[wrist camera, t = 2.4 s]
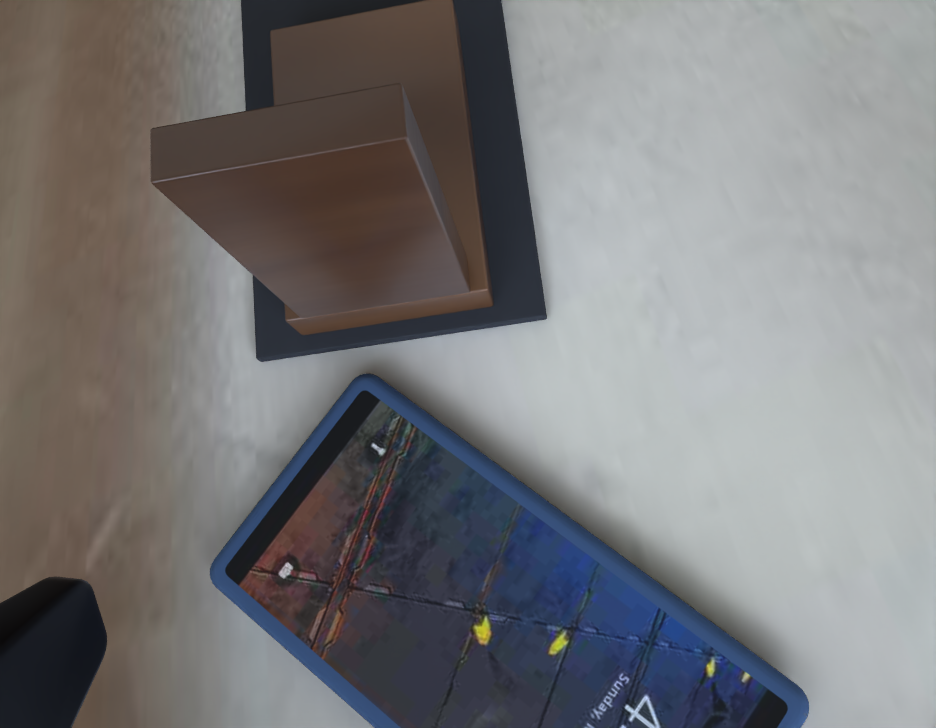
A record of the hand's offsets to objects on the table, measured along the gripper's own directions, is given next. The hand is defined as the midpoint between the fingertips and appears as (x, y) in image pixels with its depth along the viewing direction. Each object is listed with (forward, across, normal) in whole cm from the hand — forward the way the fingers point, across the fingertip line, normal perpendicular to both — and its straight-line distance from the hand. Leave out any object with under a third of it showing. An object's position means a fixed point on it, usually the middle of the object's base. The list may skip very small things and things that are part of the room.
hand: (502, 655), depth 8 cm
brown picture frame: (+19, +6, 0) cm, 20 cm away
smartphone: (+10, +2, +11) cm, 15 cm away
